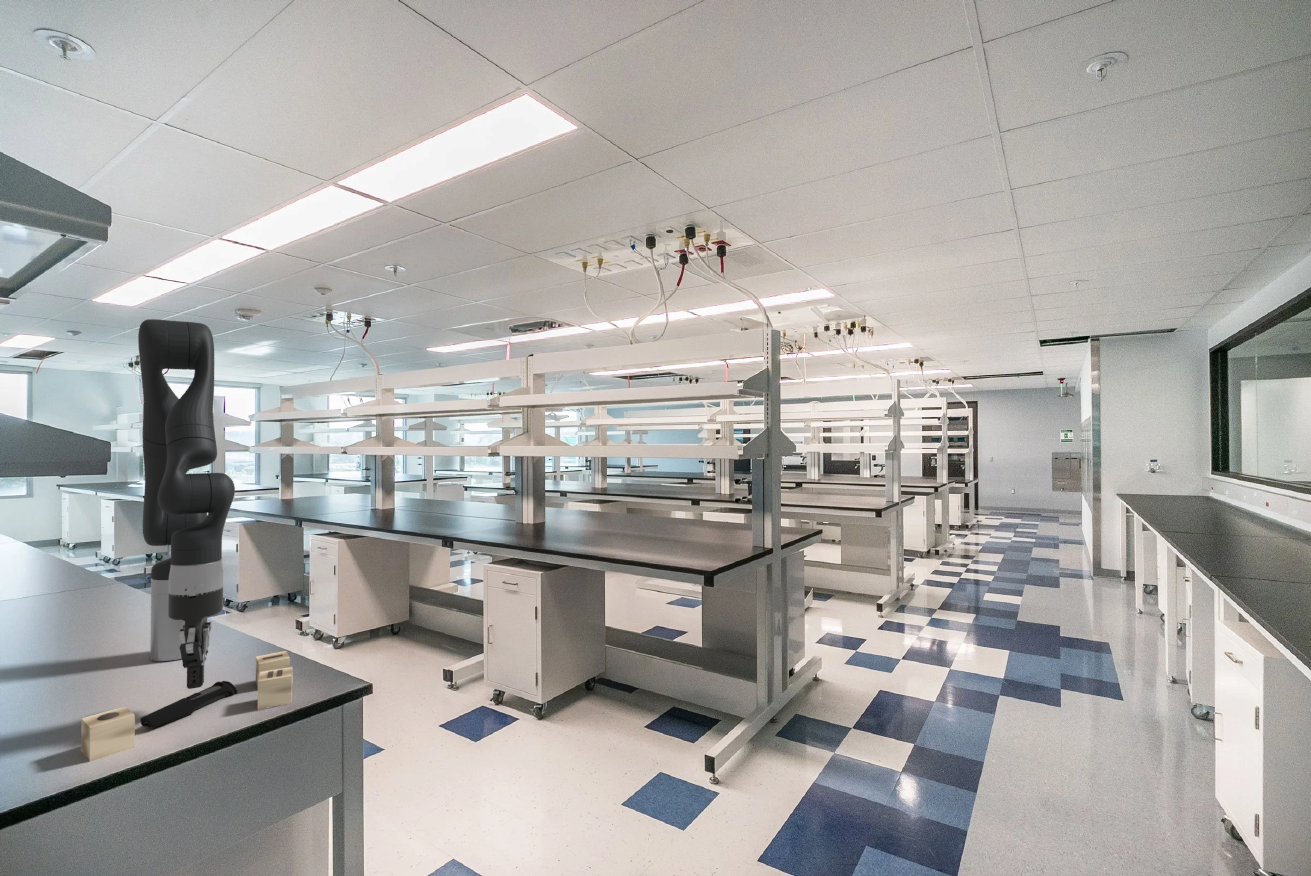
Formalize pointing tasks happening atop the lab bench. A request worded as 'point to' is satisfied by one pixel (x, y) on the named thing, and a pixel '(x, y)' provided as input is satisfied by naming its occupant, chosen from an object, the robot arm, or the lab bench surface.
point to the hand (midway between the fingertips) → (195, 686)
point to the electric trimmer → (188, 704)
